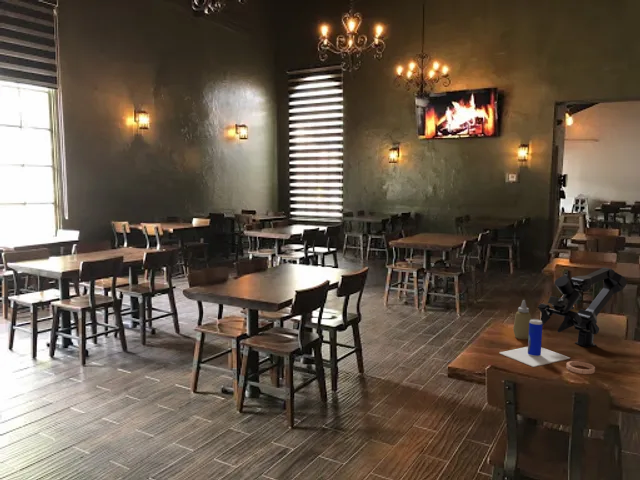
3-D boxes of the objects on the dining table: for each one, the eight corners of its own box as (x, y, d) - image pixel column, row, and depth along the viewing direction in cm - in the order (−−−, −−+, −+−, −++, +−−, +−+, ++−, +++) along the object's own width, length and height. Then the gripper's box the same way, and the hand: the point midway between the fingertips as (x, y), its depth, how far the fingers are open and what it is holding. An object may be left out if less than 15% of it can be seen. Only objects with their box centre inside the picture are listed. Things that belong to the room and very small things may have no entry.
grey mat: (535, 345, 238) (535, 345, 238) (570, 358, 222) (570, 357, 222) (499, 353, 228) (499, 352, 227) (533, 367, 212) (533, 366, 212)
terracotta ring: (577, 363, 216) (577, 359, 216) (600, 371, 208) (600, 367, 207) (560, 367, 212) (561, 363, 212) (583, 375, 203) (583, 371, 203)
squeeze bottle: (530, 336, 252) (532, 299, 249) (531, 341, 244) (533, 303, 242) (512, 334, 254) (514, 297, 252) (512, 339, 247) (514, 301, 244)
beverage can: (528, 352, 228) (530, 318, 226) (541, 354, 226) (543, 319, 224) (526, 355, 224) (528, 321, 222) (539, 357, 221) (541, 322, 219)
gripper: (541, 285, 235) (522, 312, 232) (579, 293, 219) (559, 323, 215) (553, 300, 240) (534, 327, 236) (590, 310, 224) (571, 339, 220)
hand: (549, 328), depth 227 cm, fingers open, 9 cm apart
